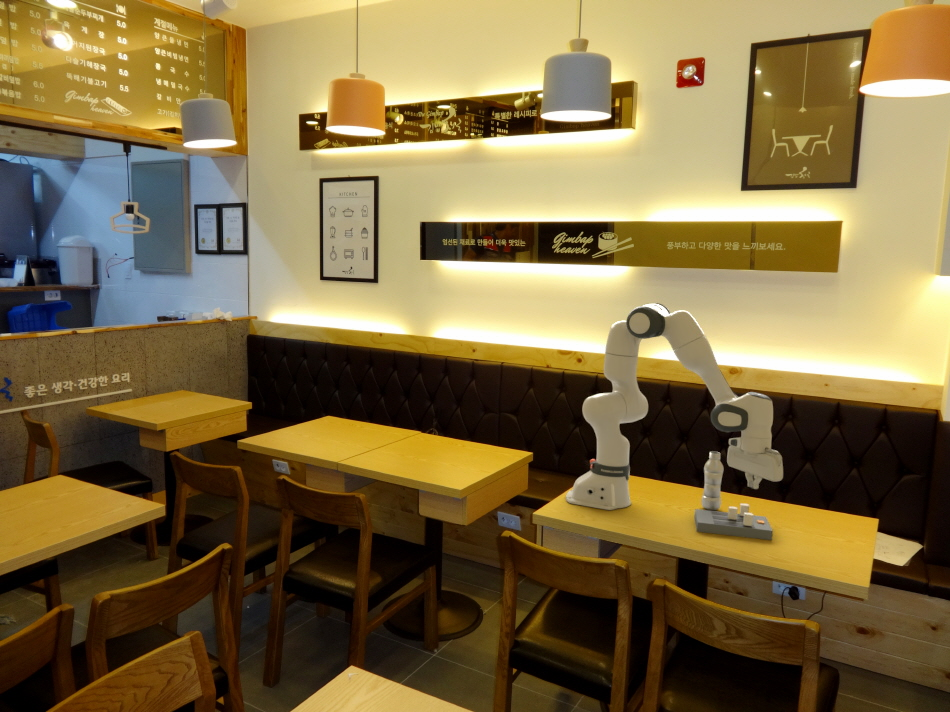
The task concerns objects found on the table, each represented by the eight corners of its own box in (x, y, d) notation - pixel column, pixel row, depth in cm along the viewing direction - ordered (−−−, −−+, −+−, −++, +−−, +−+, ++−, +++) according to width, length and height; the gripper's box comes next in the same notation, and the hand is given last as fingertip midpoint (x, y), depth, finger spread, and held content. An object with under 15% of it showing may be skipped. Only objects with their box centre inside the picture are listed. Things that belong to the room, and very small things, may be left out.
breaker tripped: (728, 518, 222) (729, 508, 222) (728, 516, 224) (728, 506, 224) (736, 519, 221) (737, 509, 221) (736, 517, 223) (736, 507, 223)
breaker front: (743, 525, 217) (744, 514, 216) (743, 523, 219) (744, 512, 218) (752, 526, 216) (753, 515, 216) (751, 523, 218) (752, 513, 218)
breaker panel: (696, 531, 219) (697, 521, 219) (694, 517, 232) (695, 507, 232) (771, 540, 214) (772, 529, 214) (765, 525, 227) (765, 515, 226)
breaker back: (740, 515, 225) (741, 505, 225) (739, 513, 227) (740, 503, 227) (748, 516, 225) (749, 506, 224) (747, 514, 227) (748, 504, 226)
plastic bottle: (717, 506, 244) (722, 450, 242) (722, 513, 238) (727, 455, 235) (698, 505, 245) (703, 449, 242) (703, 511, 238) (707, 454, 236)
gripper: (789, 451, 210) (786, 496, 212) (740, 437, 229) (737, 478, 230) (773, 453, 208) (770, 498, 209) (724, 438, 226) (722, 479, 228)
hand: (752, 487), depth 220 cm, fingers closed
